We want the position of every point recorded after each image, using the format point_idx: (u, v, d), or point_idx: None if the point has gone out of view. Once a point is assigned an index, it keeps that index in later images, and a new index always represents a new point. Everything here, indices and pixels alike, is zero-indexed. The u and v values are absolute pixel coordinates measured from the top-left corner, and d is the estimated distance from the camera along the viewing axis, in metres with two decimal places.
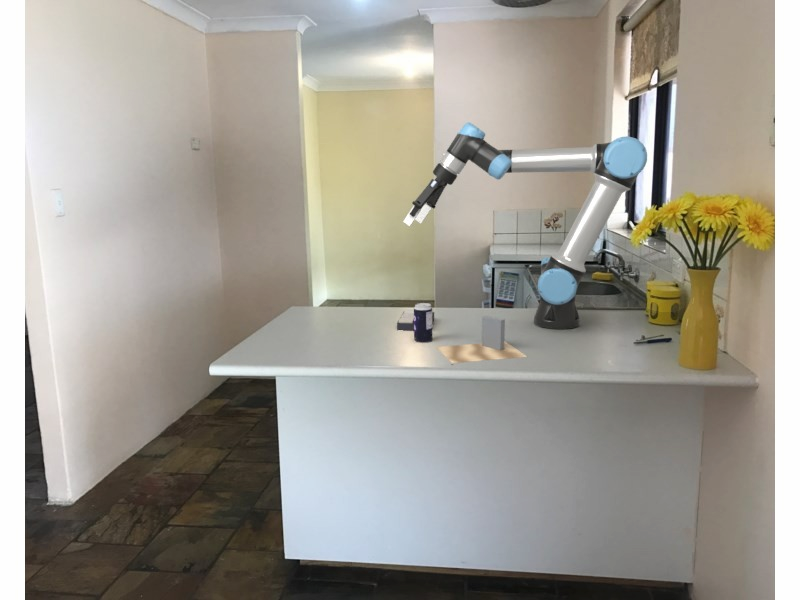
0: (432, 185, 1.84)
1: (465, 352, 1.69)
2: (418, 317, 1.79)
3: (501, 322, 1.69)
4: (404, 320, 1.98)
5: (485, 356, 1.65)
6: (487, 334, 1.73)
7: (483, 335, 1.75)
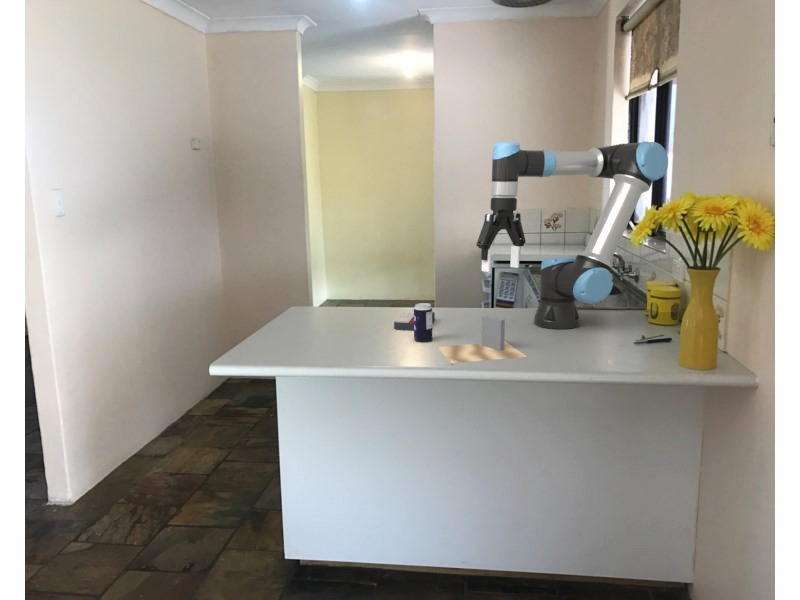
0: (488, 219, 1.67)
1: (465, 352, 1.69)
2: (418, 317, 1.79)
3: (501, 322, 1.69)
4: (401, 320, 1.98)
5: (485, 356, 1.65)
6: (487, 334, 1.73)
7: (483, 335, 1.75)
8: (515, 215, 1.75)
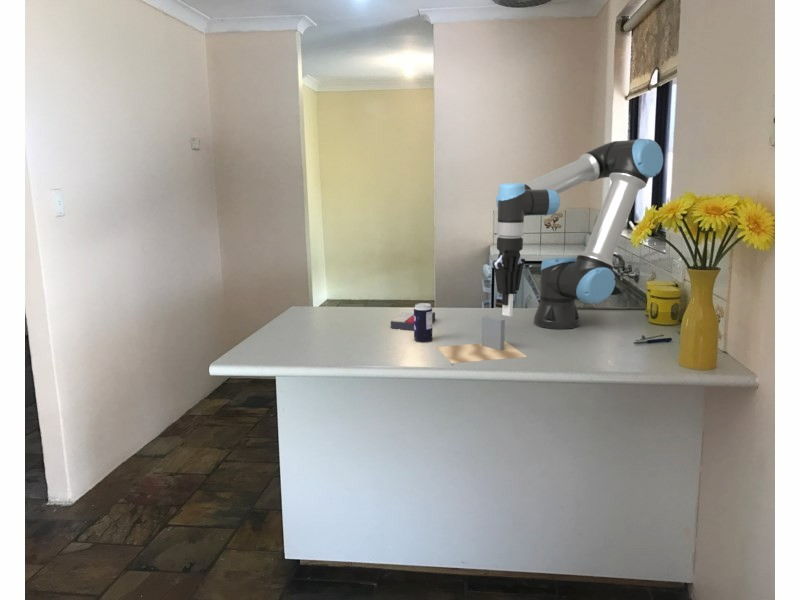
0: (497, 268, 1.70)
1: (465, 352, 1.69)
2: (418, 317, 1.79)
3: (501, 322, 1.69)
4: (398, 319, 1.99)
5: (485, 356, 1.65)
6: (487, 334, 1.73)
7: (483, 335, 1.75)
8: (520, 258, 1.76)
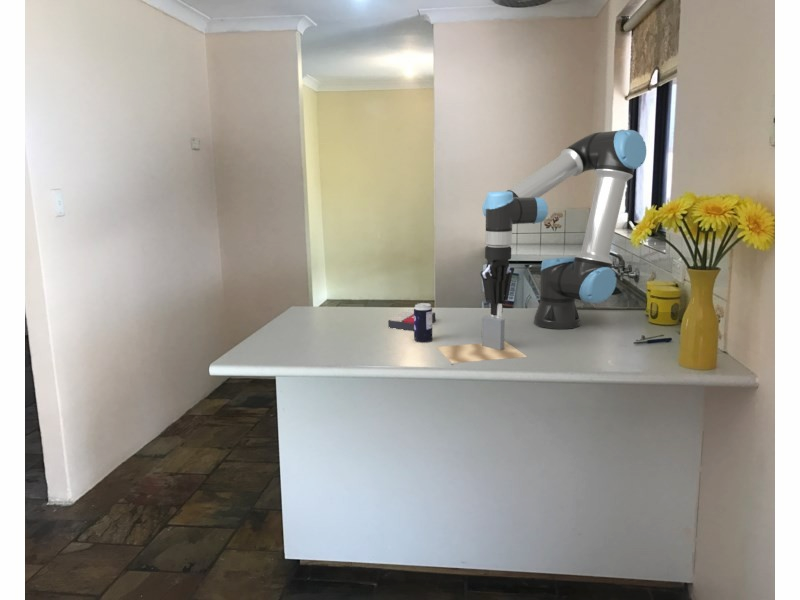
0: (485, 277, 1.67)
1: (465, 352, 1.69)
2: (418, 317, 1.79)
3: (501, 322, 1.69)
4: (396, 318, 2.00)
5: (485, 356, 1.65)
6: (487, 334, 1.73)
7: (483, 335, 1.75)
8: (509, 267, 1.73)
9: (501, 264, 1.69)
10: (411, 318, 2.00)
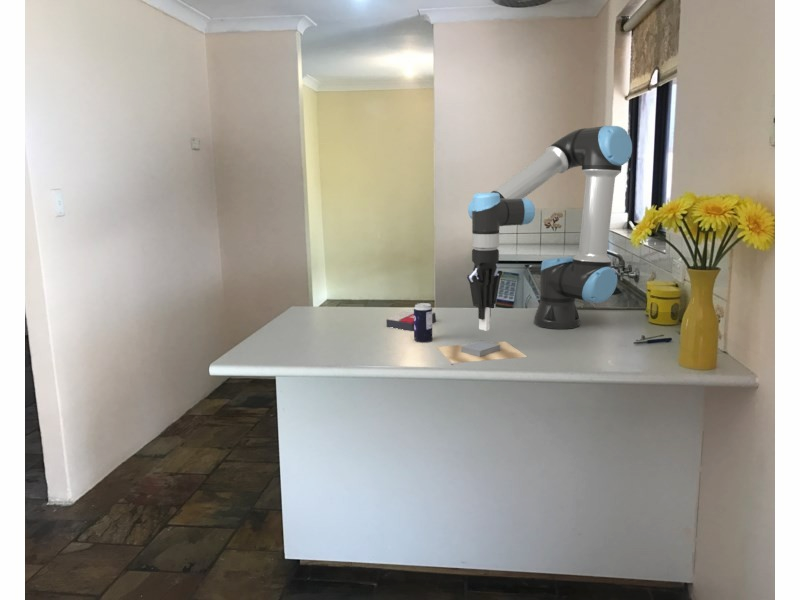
0: (472, 281, 1.63)
1: None
2: (418, 317, 1.79)
3: (481, 355, 1.65)
4: (394, 318, 2.02)
5: (485, 356, 1.65)
6: None
7: None
8: (497, 270, 1.69)
9: (488, 267, 1.66)
10: (409, 318, 2.00)
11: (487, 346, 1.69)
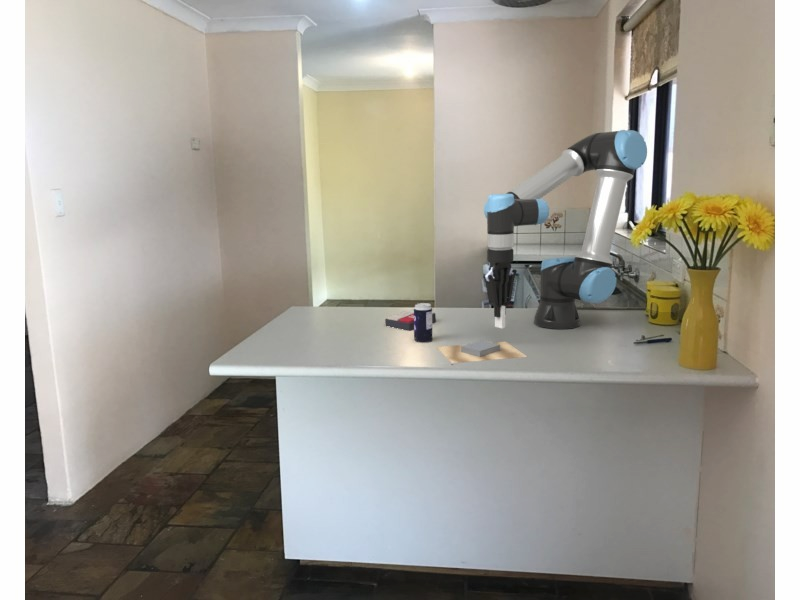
0: (488, 280, 1.68)
1: None
2: (418, 317, 1.79)
3: (481, 355, 1.65)
4: (392, 317, 2.02)
5: (485, 356, 1.65)
6: None
7: None
8: (512, 269, 1.74)
9: (503, 266, 1.70)
10: (407, 317, 2.01)
11: (487, 346, 1.69)
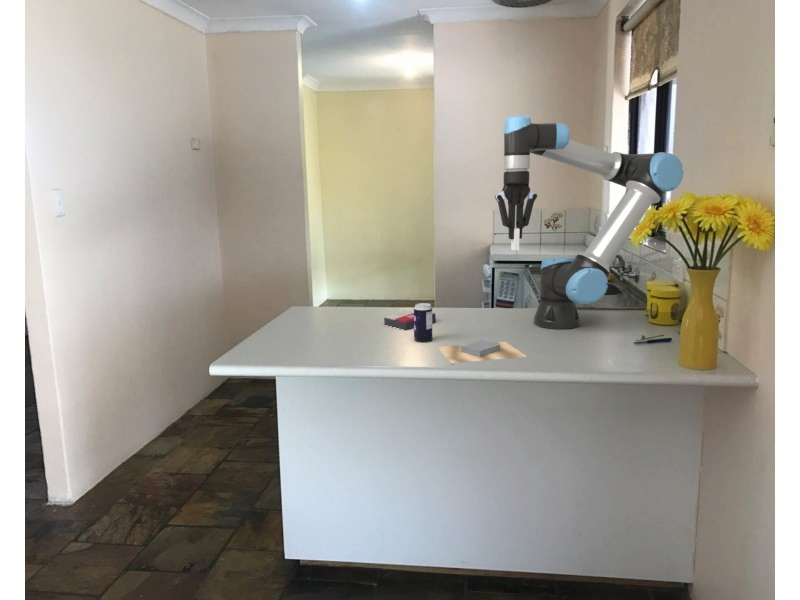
0: (498, 200, 1.74)
1: None
2: (418, 317, 1.79)
3: (481, 355, 1.65)
4: (391, 316, 2.03)
5: (485, 356, 1.65)
6: None
7: None
8: (532, 194, 1.76)
9: (518, 189, 1.74)
10: (405, 317, 2.01)
11: (487, 346, 1.69)
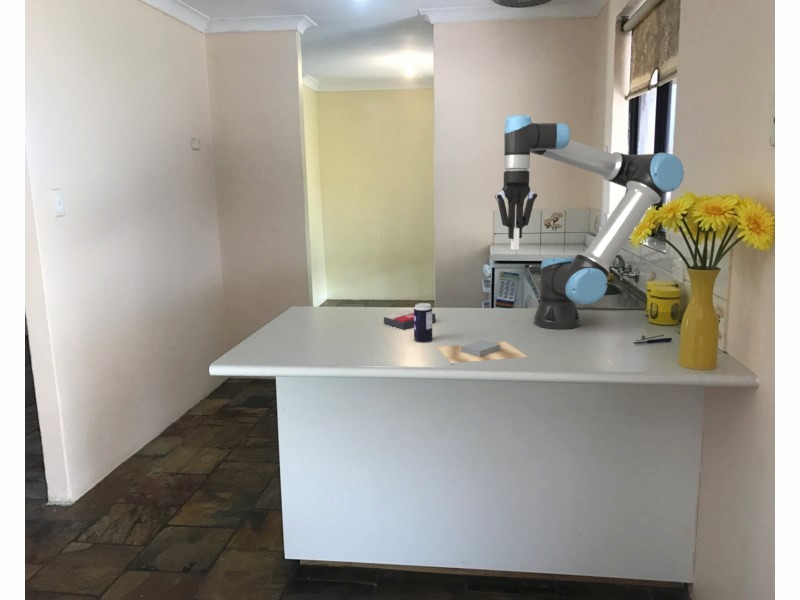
0: (498, 200, 1.74)
1: None
2: (418, 317, 1.79)
3: (481, 355, 1.65)
4: (390, 316, 2.04)
5: (485, 356, 1.65)
6: None
7: None
8: (532, 193, 1.76)
9: (518, 188, 1.74)
10: (404, 317, 2.02)
11: (487, 346, 1.69)
